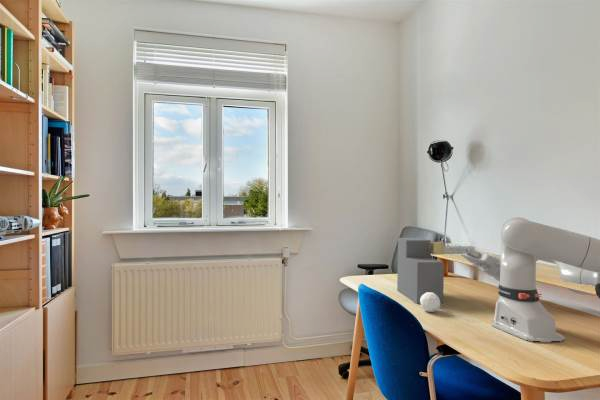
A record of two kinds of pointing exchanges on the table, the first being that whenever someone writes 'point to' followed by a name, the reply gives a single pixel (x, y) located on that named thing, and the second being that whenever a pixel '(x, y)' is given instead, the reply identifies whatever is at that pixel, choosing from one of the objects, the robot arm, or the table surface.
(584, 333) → the table surface
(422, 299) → the ball
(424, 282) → the grey tall stepped block
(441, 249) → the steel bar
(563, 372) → the table surface
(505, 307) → the robot arm
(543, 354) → the table surface
